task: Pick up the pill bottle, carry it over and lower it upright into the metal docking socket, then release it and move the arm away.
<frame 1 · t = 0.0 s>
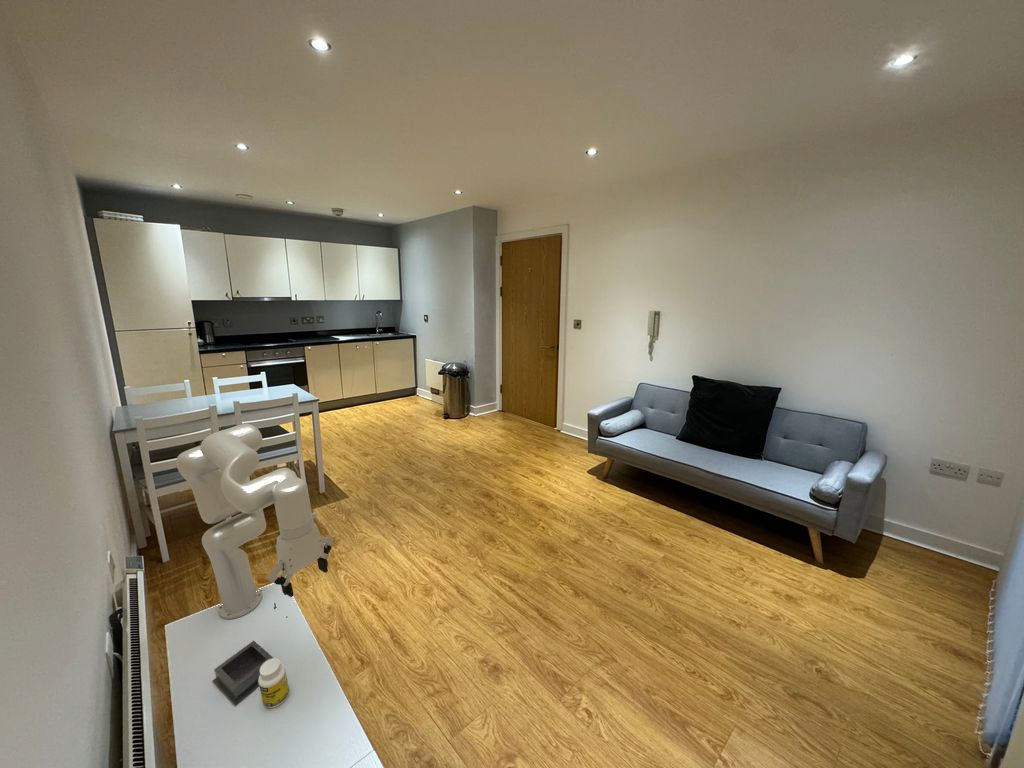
hand: (306, 581, 106), 31 cm above the table, fingers open, 9 cm apart
pill bottle: (276, 697, 108), on the table
socket: (247, 675, 114), on the table
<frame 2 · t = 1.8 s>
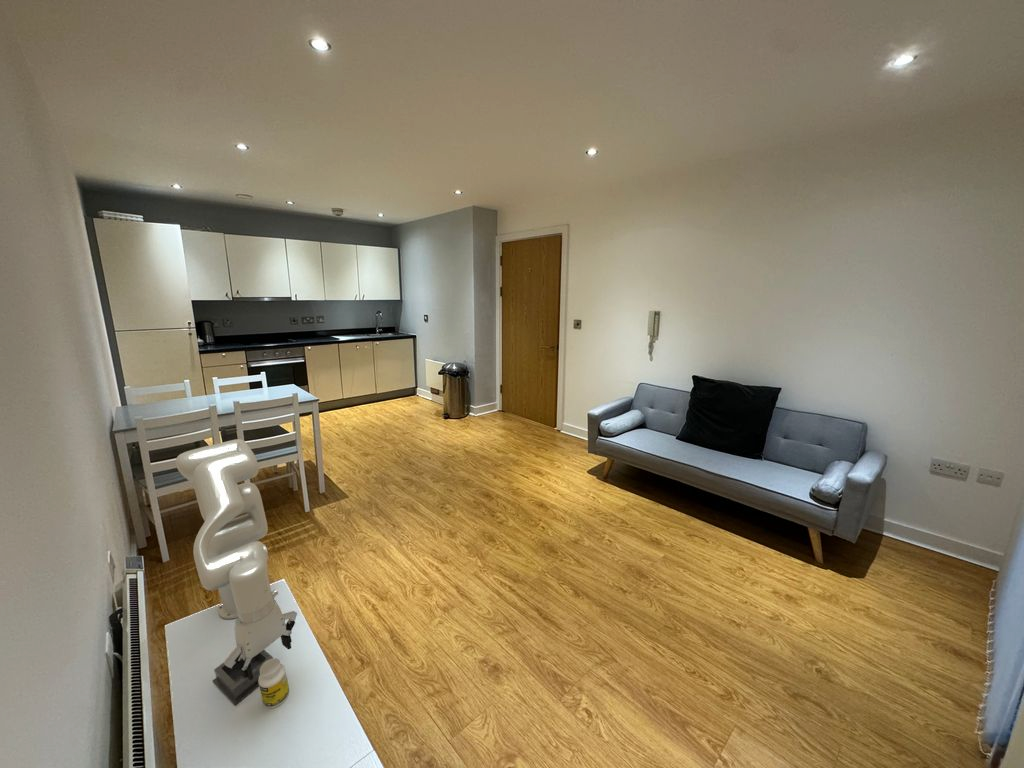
hand: (268, 661, 104), 13 cm above the table, fingers open, 9 cm apart
nothing on the table moved.
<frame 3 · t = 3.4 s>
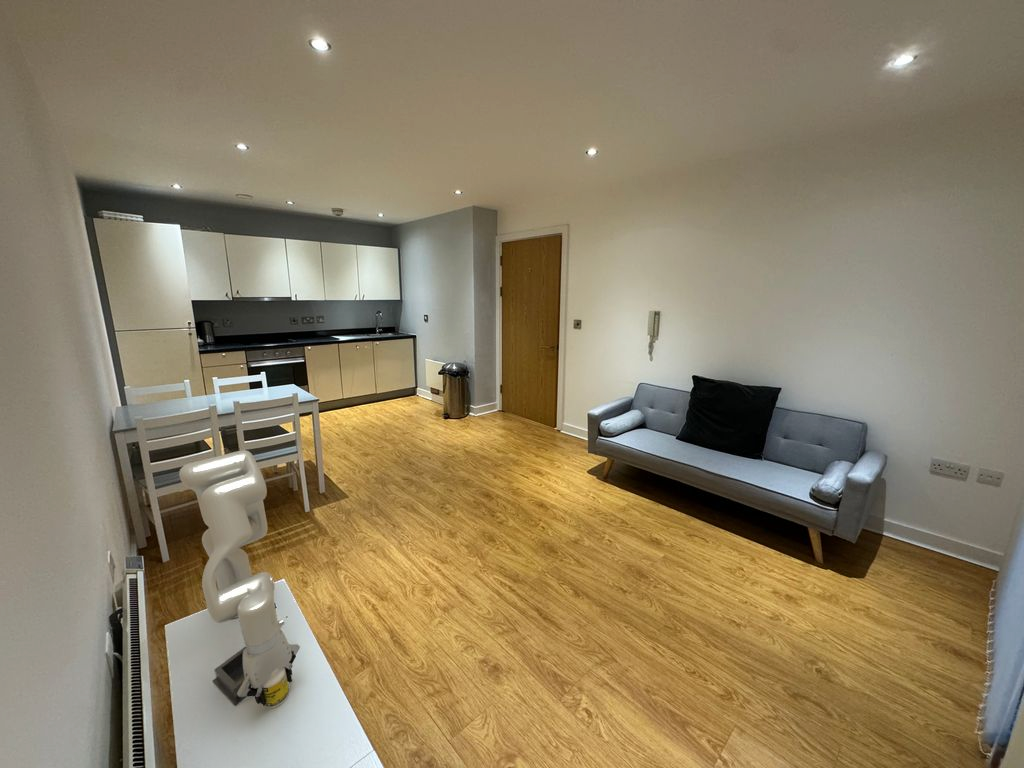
hand: (275, 689, 107), 3 cm above the table, fingers closed on pill bottle, 6 cm apart
pill bottle: (276, 697, 108), on the table, touching gripper
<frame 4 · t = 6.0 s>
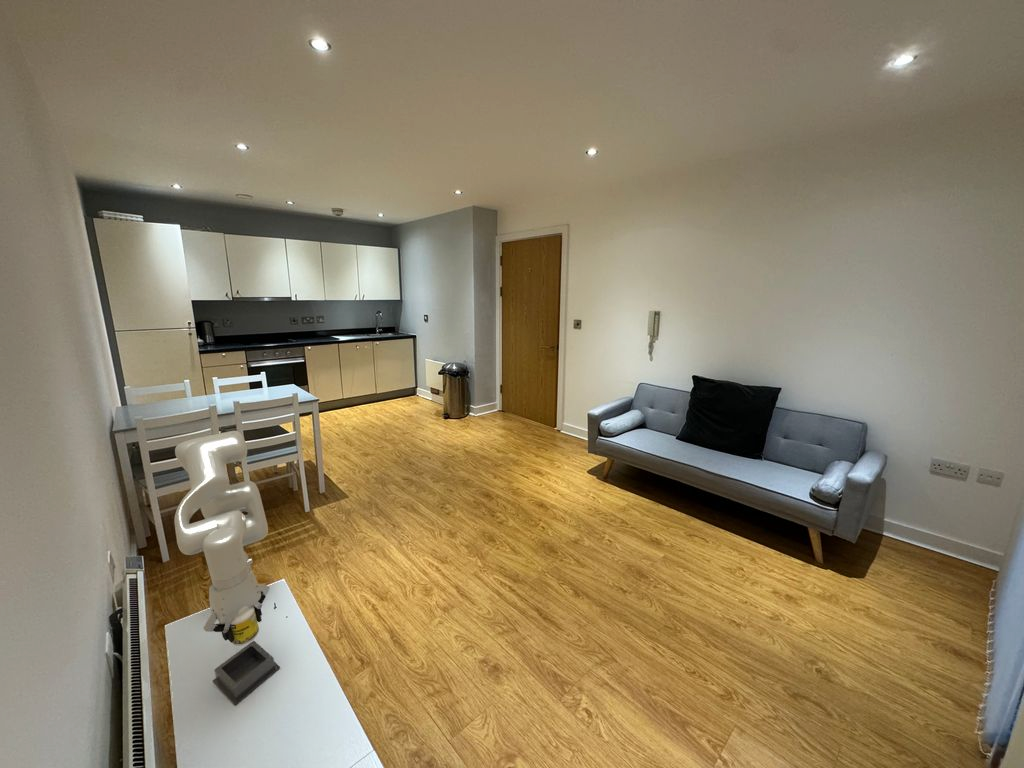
hand: (243, 628, 107), 19 cm above the table, fingers closed on pill bottle, 6 cm apart
pill bottle: (246, 636, 107), point 16 cm above the table, touching gripper
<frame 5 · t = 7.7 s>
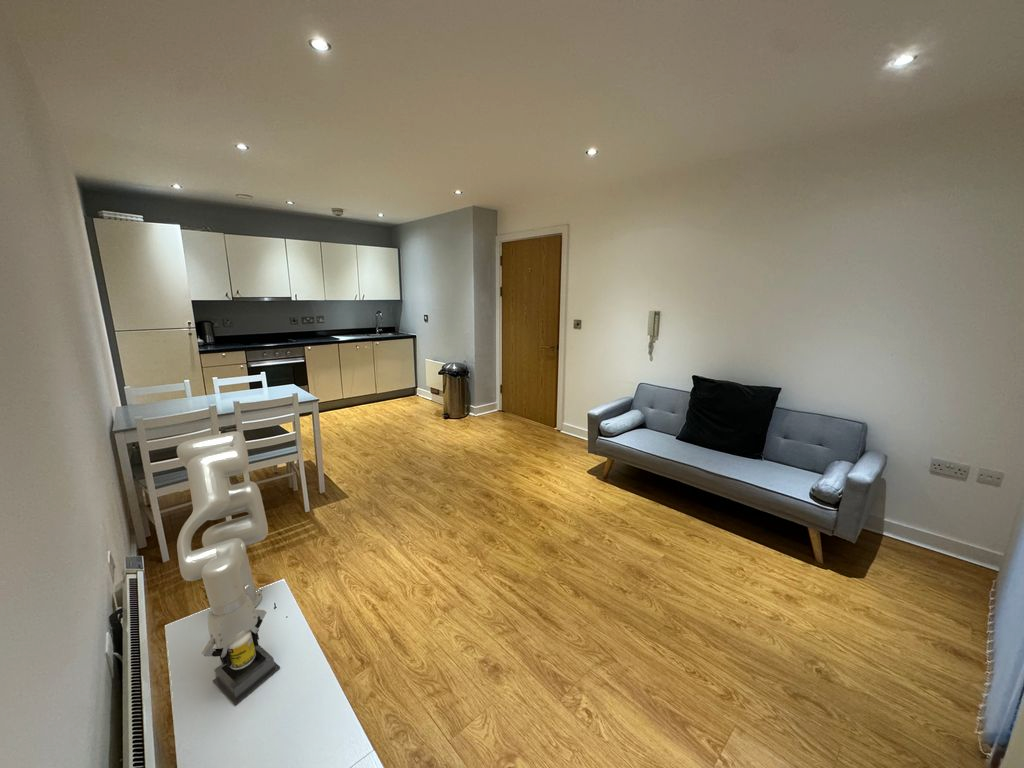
hand: (241, 652, 111), 9 cm above the table, fingers closed on pill bottle, 6 cm apart
pill bottle: (243, 660, 112), point 6 cm above the table, touching gripper
when the fingers open (5 cm above the table, at t = 8.9 s): pill bottle drops 1 cm, resting on socket.
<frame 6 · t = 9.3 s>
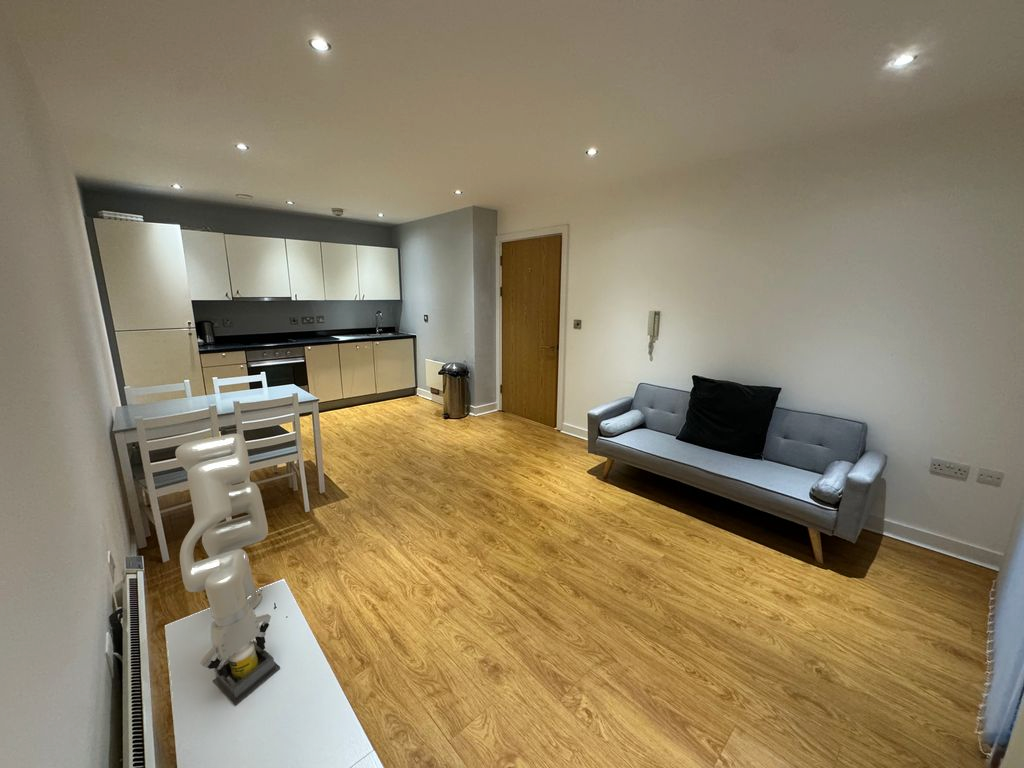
hand: (243, 660, 112), 6 cm above the table, fingers open, 9 cm apart
pill bottle: (246, 673, 114), point 1 cm above the table, touching socket
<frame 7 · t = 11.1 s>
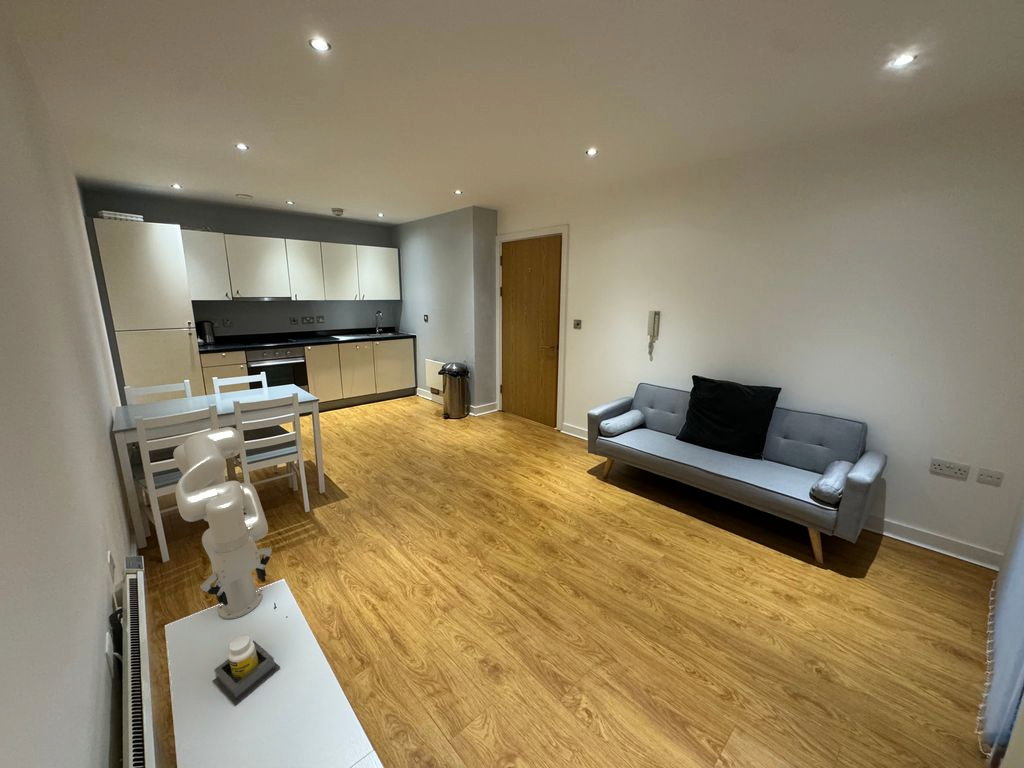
hand: (243, 590, 112), 24 cm above the table, fingers open, 9 cm apart
nothing on the table moved.
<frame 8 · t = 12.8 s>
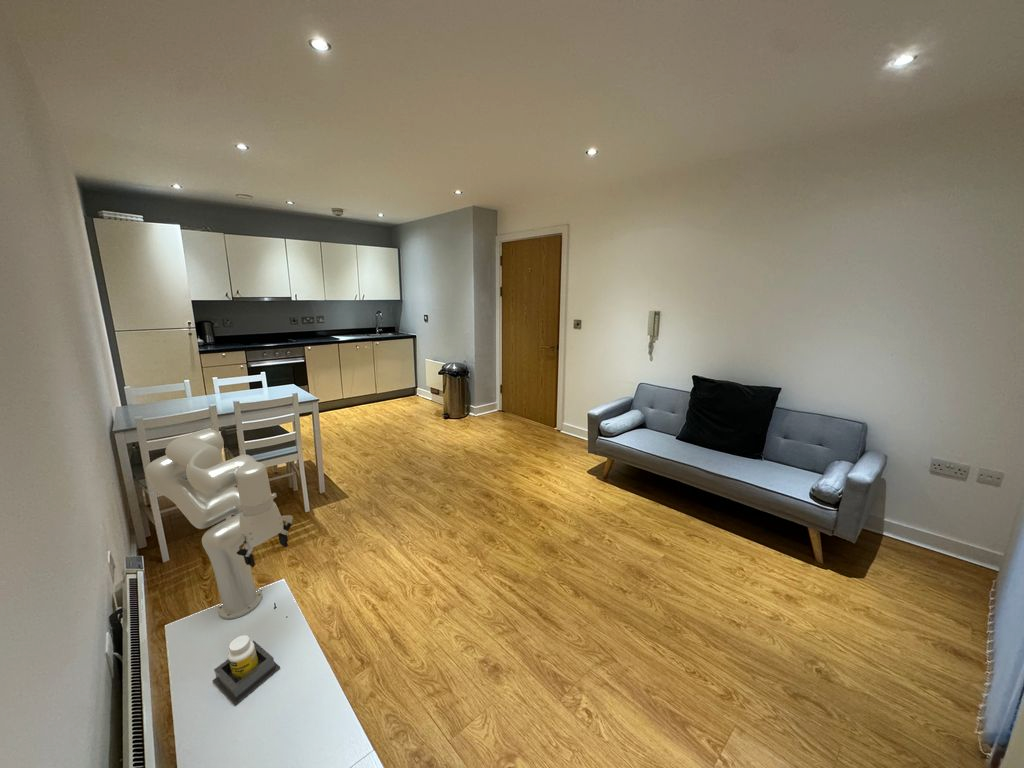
hand: (268, 554, 120), 28 cm above the table, fingers open, 9 cm apart
nothing on the table moved.
at the end: pill bottle 0.2 cm off-centre on the socket, point 0.6 cm above the socket's base; pill bottle tilted 0°; the gripper is holding nothing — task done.
